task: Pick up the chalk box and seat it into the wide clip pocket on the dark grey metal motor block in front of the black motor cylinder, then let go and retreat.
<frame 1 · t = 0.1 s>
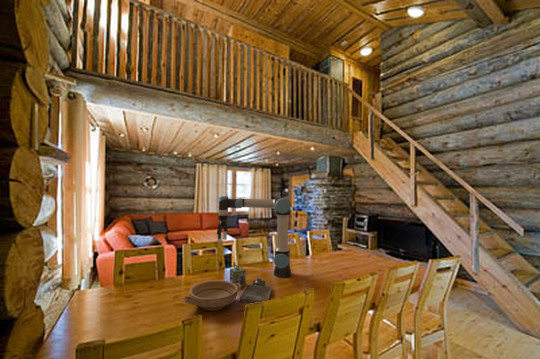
hand: (222, 241, 200), 28 cm above the table, fingers open, 13 cm apart
motor base: (256, 295, 164), on the table
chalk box: (237, 285, 180), on the table
ceramic bowl: (213, 305, 148), on the table
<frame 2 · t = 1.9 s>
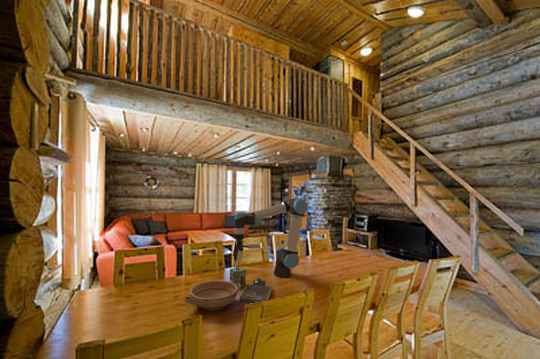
hand: (237, 262, 180), 17 cm above the table, fingers open, 13 cm apart
nothing on the table moved.
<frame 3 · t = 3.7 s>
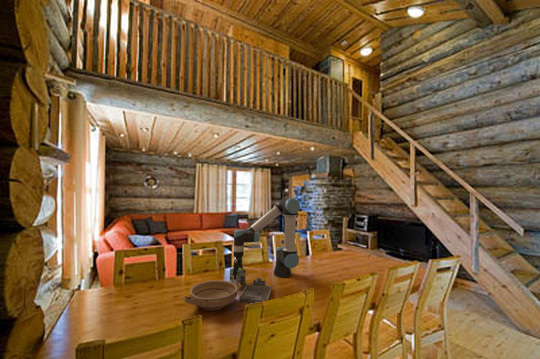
hand: (237, 280, 180), 3 cm above the table, fingers closed on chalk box, 12 cm apart
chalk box: (237, 285, 180), on the table, touching gripper
everything else where it was.
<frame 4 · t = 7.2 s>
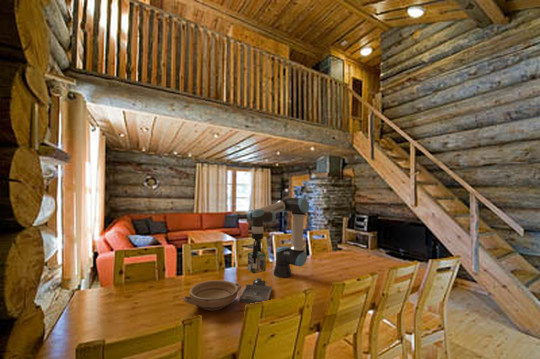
hand: (256, 265, 162), 20 cm above the table, fingers closed on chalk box, 12 cm apart
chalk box: (256, 271, 162), point 17 cm above the table, touching gripper
everything else where it was.
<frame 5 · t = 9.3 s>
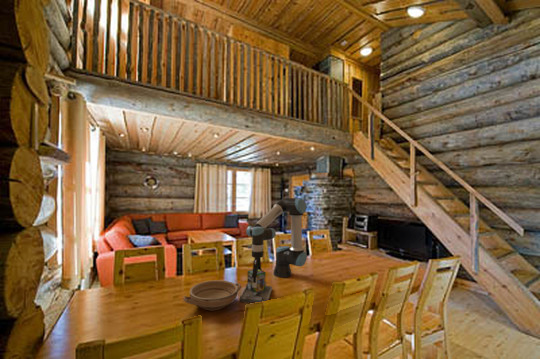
hand: (256, 283, 161), 9 cm above the table, fingers closed on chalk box, 12 cm apart
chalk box: (256, 289, 161), point 5 cm above the table, touching gripper
everything else where it was.
when the fingers open (7 cm above the table, at t = 10.8 s): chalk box drops 1 cm, resting on motor base.
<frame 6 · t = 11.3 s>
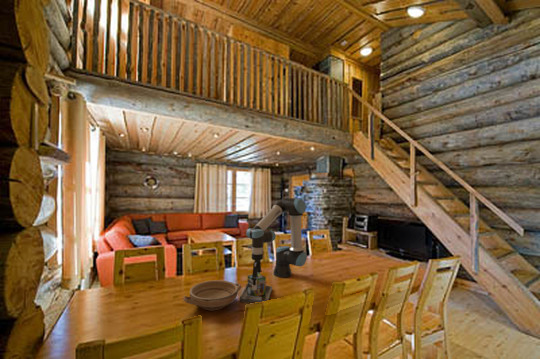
hand: (256, 285, 161), 7 cm above the table, fingers open, 13 cm apart
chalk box: (256, 294, 161), point 2 cm above the table, touching motor base
everything else where it was.
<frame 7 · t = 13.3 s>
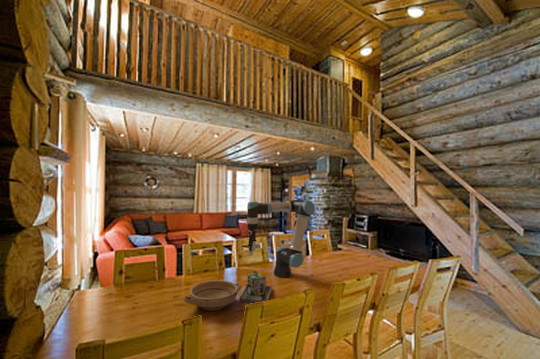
hand: (252, 253, 175), 25 cm above the table, fingers open, 13 cm apart
nothing on the table moved.
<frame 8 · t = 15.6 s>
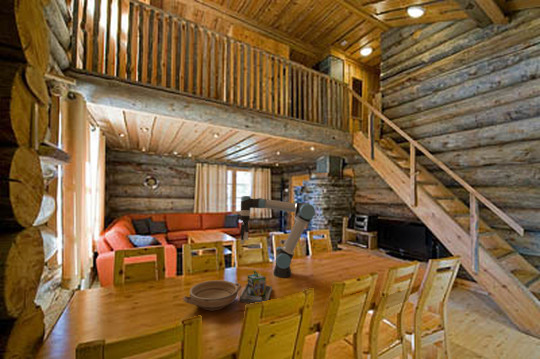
hand: (244, 242, 195), 29 cm above the table, fingers open, 13 cm apart
nothing on the table moved.
at the end: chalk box inside the target area on the motor base (0.2 cm from its centre), point 1.8 cm above the motor base's base; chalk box tilted 0°; the gripper is holding nothing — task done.
